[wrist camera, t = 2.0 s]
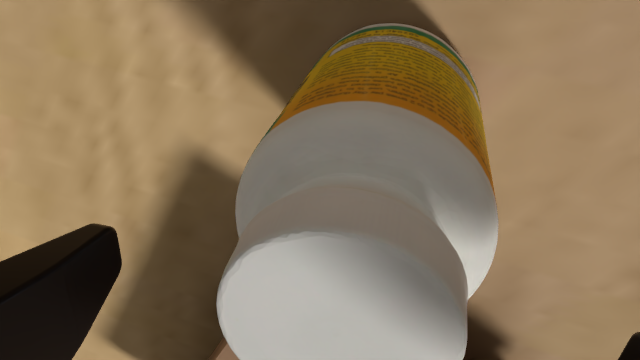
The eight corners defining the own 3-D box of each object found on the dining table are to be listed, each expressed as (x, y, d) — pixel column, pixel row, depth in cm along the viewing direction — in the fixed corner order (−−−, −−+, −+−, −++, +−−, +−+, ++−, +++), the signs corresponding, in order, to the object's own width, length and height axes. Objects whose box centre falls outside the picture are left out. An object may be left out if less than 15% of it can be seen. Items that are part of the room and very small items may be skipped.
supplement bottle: (468, 183, 17) (491, 467, 9) (311, 172, 18) (202, 417, 10) (489, 17, 14) (550, 209, 6) (302, 16, 15) (142, 177, 7)
